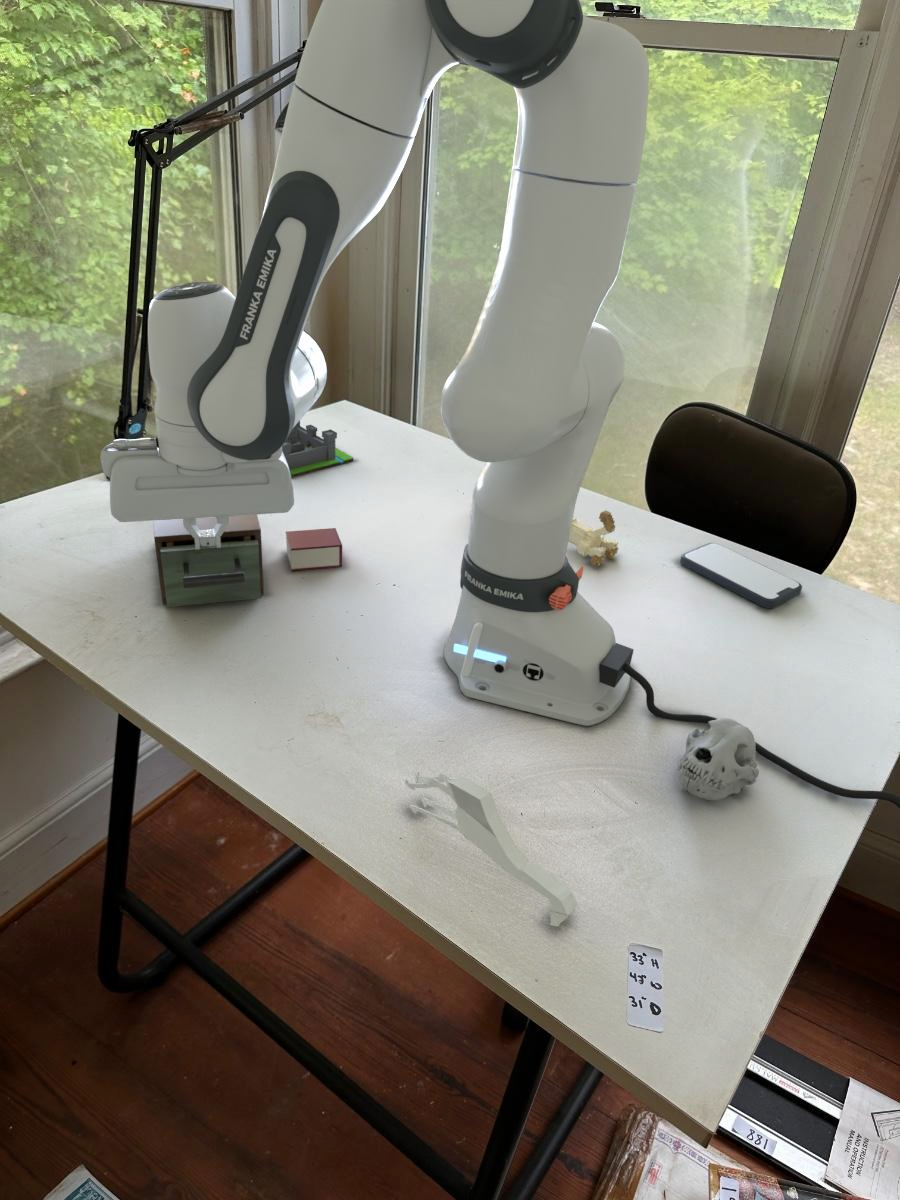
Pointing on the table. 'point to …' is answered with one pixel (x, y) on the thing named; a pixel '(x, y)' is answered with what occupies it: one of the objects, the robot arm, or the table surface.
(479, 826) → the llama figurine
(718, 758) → the skull
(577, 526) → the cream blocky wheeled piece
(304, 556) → the book
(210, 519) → the cabinet
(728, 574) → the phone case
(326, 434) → the castle model
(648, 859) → the table surface
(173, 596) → the drawer
